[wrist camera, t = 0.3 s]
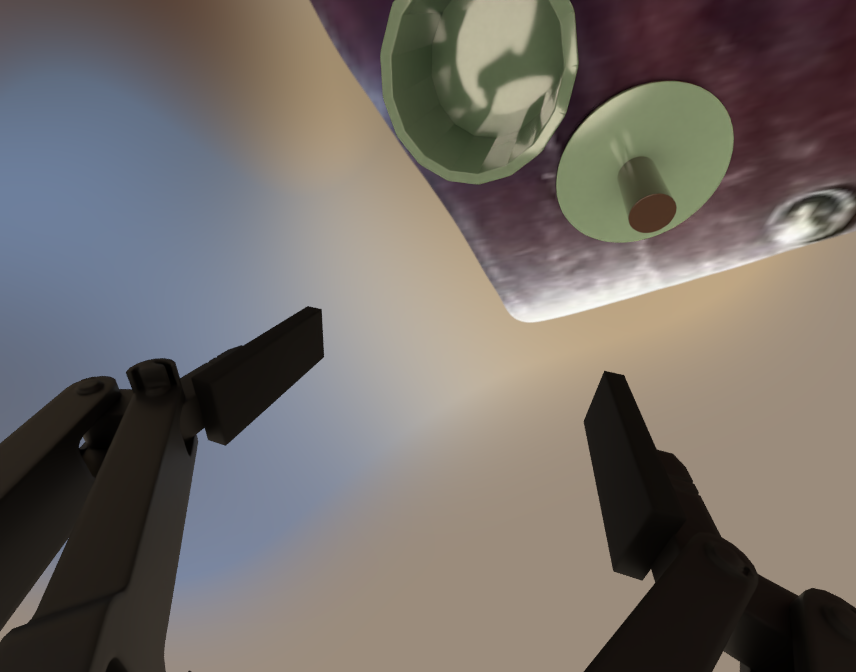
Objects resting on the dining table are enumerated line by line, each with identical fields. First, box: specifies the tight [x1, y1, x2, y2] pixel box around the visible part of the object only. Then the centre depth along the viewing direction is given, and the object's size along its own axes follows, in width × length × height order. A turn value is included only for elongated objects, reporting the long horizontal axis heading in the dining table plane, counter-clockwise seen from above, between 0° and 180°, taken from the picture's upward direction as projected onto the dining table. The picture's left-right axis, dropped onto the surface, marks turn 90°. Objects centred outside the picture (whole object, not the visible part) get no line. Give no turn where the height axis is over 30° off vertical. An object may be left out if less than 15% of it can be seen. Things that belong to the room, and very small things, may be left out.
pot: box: [380, 0, 579, 185], centre depth 26 cm, size 13×13×10 cm
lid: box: [556, 80, 734, 242], centre depth 28 cm, size 14×14×10 cm
